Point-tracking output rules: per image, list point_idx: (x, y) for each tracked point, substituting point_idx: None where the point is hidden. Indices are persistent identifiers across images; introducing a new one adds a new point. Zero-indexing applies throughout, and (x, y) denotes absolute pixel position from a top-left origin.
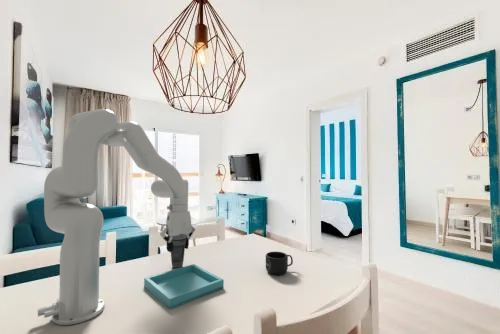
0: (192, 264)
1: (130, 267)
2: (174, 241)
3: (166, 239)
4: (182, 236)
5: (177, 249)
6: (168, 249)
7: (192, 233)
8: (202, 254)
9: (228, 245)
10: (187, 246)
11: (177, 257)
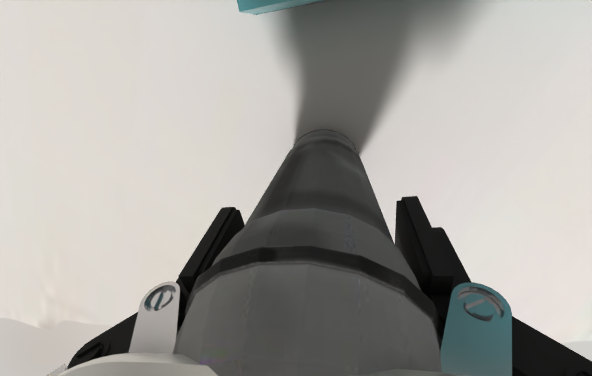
0: (253, 3)
1: (519, 280)
2: (406, 275)
3: (557, 356)
4: (260, 314)
5: (347, 190)
6: (439, 228)
7: (74, 356)
8: (151, 239)
9: (17, 267)
10: (221, 218)
11: (342, 154)
